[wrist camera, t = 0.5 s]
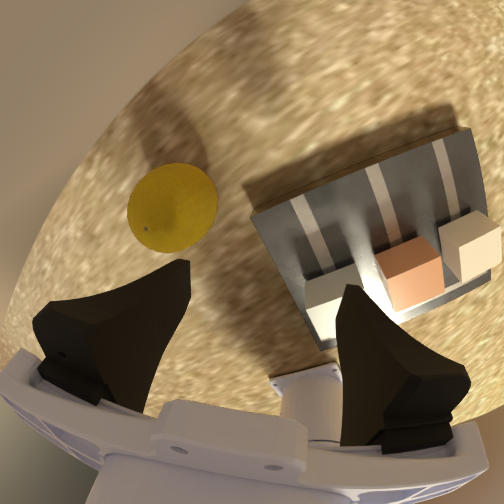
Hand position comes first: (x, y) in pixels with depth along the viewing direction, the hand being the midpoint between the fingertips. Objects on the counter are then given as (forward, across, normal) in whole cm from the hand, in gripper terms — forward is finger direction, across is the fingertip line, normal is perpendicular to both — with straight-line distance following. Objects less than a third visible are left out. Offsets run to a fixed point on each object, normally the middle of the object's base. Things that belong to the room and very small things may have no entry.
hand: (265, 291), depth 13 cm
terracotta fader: (+7, -10, +1) cm, 12 cm away
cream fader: (+7, -14, -2) cm, 16 cm away
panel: (+10, -10, 0) cm, 14 cm away
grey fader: (+7, -5, +4) cm, 10 cm away
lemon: (+10, +7, -2) cm, 12 cm away
